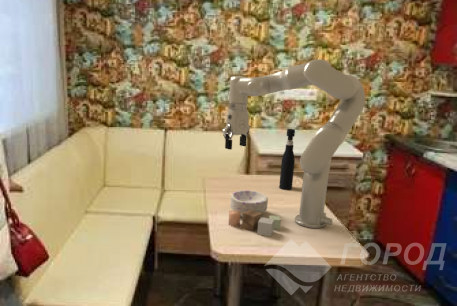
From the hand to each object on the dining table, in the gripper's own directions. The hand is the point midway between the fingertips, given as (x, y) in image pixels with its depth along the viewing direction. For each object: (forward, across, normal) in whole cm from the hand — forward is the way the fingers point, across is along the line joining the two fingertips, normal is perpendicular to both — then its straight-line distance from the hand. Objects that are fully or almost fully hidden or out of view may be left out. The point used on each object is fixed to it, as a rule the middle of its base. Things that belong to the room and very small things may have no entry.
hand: (235, 147), depth 177 cm
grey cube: (+26, -13, -26) cm, 39 cm away
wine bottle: (+26, +40, -2) cm, 48 cm away
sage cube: (+26, -6, -26) cm, 37 cm away
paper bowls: (+26, -3, -10) cm, 28 cm away
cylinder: (+26, -16, -13) cm, 33 cm away
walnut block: (+26, -13, -20) cm, 35 cm away
